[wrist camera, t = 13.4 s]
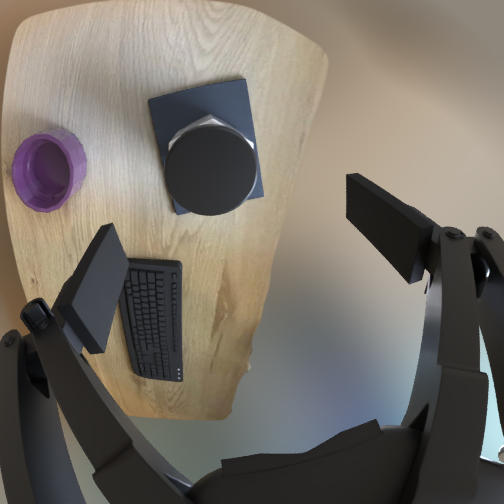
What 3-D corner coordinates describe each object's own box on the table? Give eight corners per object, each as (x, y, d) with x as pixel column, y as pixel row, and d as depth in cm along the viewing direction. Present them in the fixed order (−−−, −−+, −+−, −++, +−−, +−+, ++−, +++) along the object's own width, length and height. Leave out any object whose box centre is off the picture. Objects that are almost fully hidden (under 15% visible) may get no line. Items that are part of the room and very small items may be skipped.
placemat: (148, 99, 29) (147, 99, 29) (245, 79, 30) (245, 78, 29) (177, 213, 38) (176, 215, 37) (263, 195, 38) (264, 196, 38)
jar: (176, 113, 30) (162, 121, 20) (243, 114, 32) (263, 123, 22) (175, 182, 35) (165, 221, 25) (238, 182, 36) (254, 220, 26)
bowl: (22, 144, 27) (3, 152, 23) (77, 116, 28) (60, 121, 24) (42, 206, 33) (27, 221, 29) (97, 186, 33) (84, 199, 29)
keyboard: (112, 257, 39) (109, 264, 38) (182, 261, 42) (181, 268, 40) (134, 372, 54) (133, 380, 52) (183, 375, 56) (183, 383, 54)
